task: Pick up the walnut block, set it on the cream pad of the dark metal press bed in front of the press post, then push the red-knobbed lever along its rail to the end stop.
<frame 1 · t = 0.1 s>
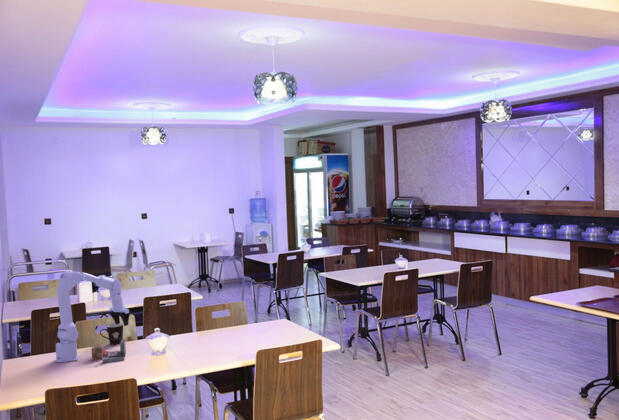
hand: (122, 324, 309), 11 cm above the table, tool pointing down, fingers open, 7 cm apart
lever: (105, 354, 277), point 4 cm above the table, slide at 0.0 cm
coffee mug: (113, 343, 311), on the table
press bed: (115, 355, 286), on the table
housing block: (98, 358, 283), on the table
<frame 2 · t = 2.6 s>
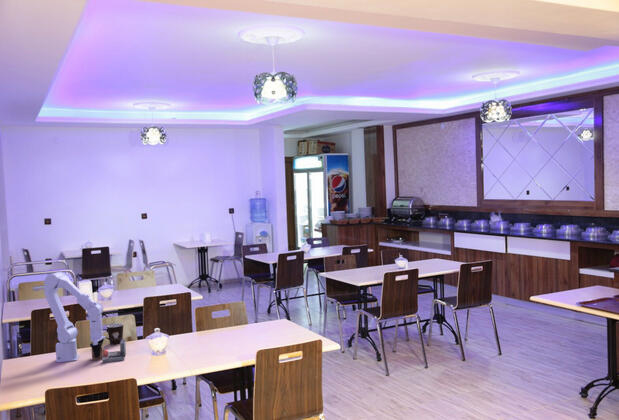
hand: (98, 355, 283), 1 cm above the table, tool pointing down, fingers closed on housing block, 5 cm apart
housing block: (98, 358, 283), on the table, touching gripper
everything else where it was.
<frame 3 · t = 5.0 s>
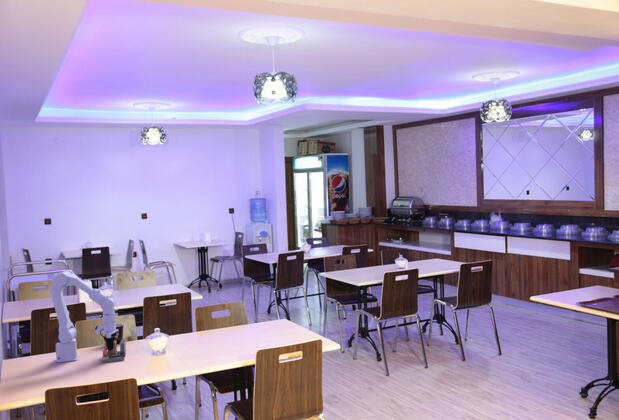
hand: (111, 348, 286), 4 cm above the table, tool pointing down, fingers closed on housing block, 5 cm apart
housing block: (111, 353, 286), point 1 cm above the table, touching gripper, press bed
everything else where it was.
when the fingers open (4 cm above the table, at t = 5.4 s): housing block stays where it is, resting on press bed.
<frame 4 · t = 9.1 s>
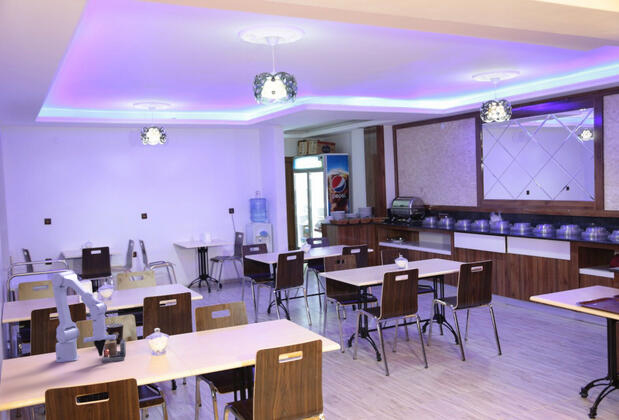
hand: (100, 355, 276), 3 cm above the table, tool pointing down, fingers closed
lever: (106, 354, 277), point 4 cm above the table, slide at 0.4 cm, touching gripper
housing block: (111, 353, 286), point 1 cm above the table, touching press bed
everything else where it was.
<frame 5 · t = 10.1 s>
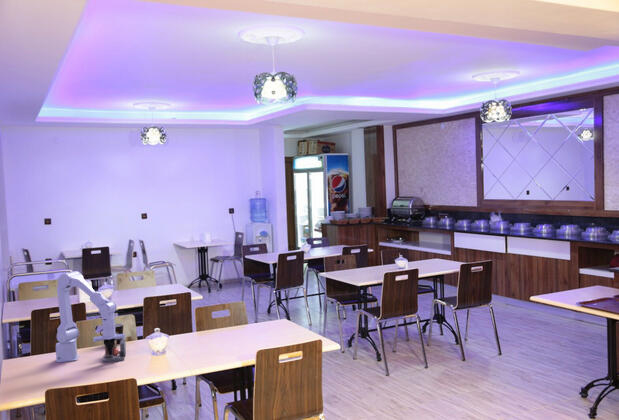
hand: (110, 354, 277), 3 cm above the table, tool pointing down, fingers closed
lever: (115, 353, 278), point 4 cm above the table, slide at 4.8 cm, touching gripper
everything else where it was.
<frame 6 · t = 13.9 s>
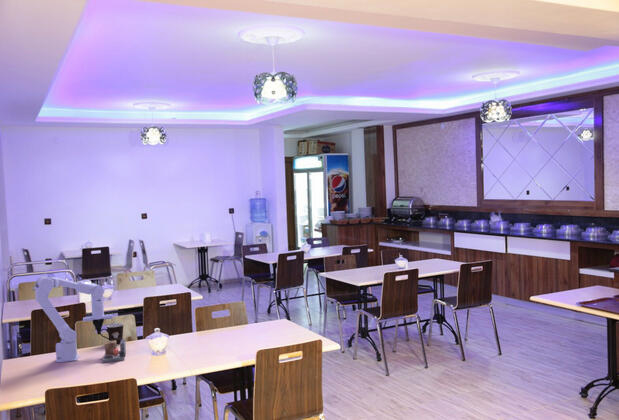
hand: (99, 333, 293), 10 cm above the table, tool pointing down, fingers closed
lever: (115, 353, 278), point 4 cm above the table, slide at 4.8 cm
everything else where it was.
at the end: housing block 0.1 cm from the target spot on the press bed, point 1.3 cm above the press bed's base; housing block tilted 0°; lever slide at 4.8 cm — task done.
